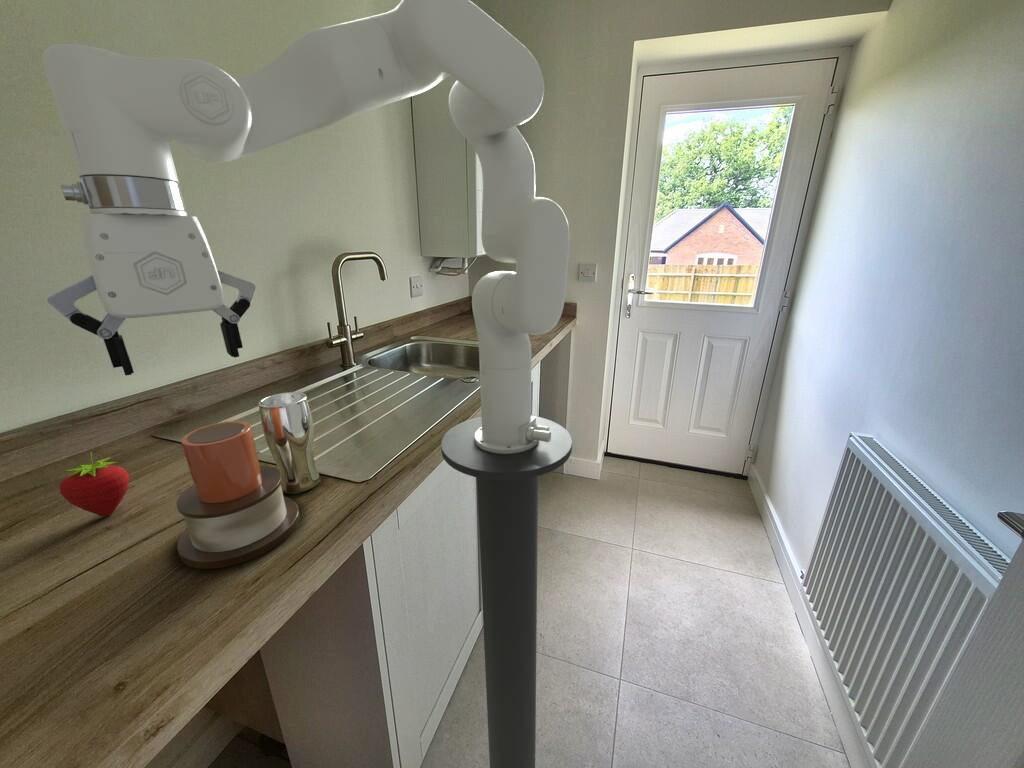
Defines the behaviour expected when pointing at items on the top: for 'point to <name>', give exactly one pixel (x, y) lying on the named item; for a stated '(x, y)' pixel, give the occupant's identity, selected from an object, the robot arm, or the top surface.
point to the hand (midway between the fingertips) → (184, 363)
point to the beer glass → (290, 439)
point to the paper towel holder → (236, 524)
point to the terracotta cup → (222, 461)
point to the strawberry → (96, 487)
